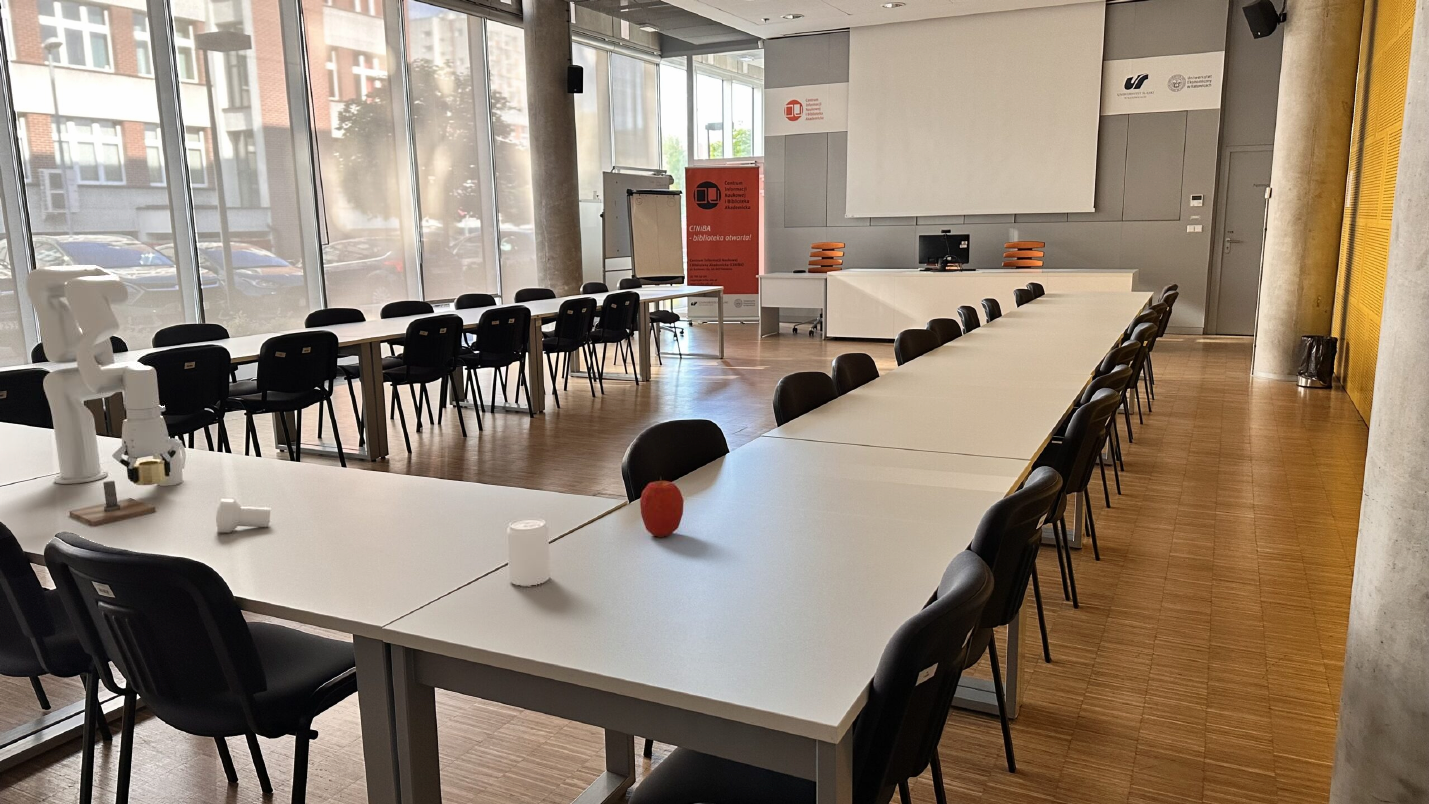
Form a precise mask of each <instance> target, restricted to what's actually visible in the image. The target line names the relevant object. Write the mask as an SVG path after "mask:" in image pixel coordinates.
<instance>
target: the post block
mask: <svg viewBox="0 0 1429 804" xmlns="http://www.w3.org/2000/svg"><path fill="white" fill-rule="evenodd" d="M102 484H103V491H104V498H105V503H101V504H96V505H91V506H87V507H83V508H77V509H73V510H69V512H68V513H69V514H68V515H69V517H72V518H74V519H75V520H78V521H81V522H83V523H85V524H88V525H89V526H91V527H96V526H101V525H104V524H110V523H112V522H117V521H122V520H127V519H131V518H135V517H138V516H139V517H140V516H145V515H147V514H152V513H156V512H157V511H156V507H155V506H153V505H151V504H148V503H145V502H142V501H140V500H137V499H135V498H132V497H128V498H125V499H120V500H118V497H117V489H116V482H115V480H107V481H104V482H103V483H102Z"/></svg>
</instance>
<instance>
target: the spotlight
mask: <svg viewBox="0 0 1429 804" xmlns="http://www.w3.org/2000/svg"><path fill="white" fill-rule="evenodd" d="M271 510H272V509H271V507H270V506H269V507H267V506H266V507H265V506H264V507H263V506H253V505H252V506H250V505H241V504H240V503H239V502H238V501H237V500H236V499H235V498H234V497H233V498H231V497H221V498H220V503H219V504H218V506H217V510H216V516H215V523H216V528H217V530H216V533H222V534H223V533H224V534H230V533H232V532H233V531H234V530H235V529H236V528H238V527H252V528H269V527H270V526H269V525H270V523H271Z"/></svg>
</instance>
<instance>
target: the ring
mask: <svg viewBox="0 0 1429 804" xmlns="http://www.w3.org/2000/svg"><path fill="white" fill-rule="evenodd" d="M134 468H136V469H137V479H138V482H137V483H133V484H134V485H136V486H153V485H157V484H159V483H162V482H164V481H166V471H165V461H163V460H158V459H153V458H152V459H142V460H139V461H138V460H137V461H136V463H135V465H134Z"/></svg>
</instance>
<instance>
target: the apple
mask: <svg viewBox="0 0 1429 804" xmlns="http://www.w3.org/2000/svg"><path fill="white" fill-rule="evenodd" d="M659 479H660V480H657V481H652V482H649V483H647V485H646V486H645V488H644V489H643V490H642V492H641V496H640V499H639V506H640V515H641V518H642V521H643V524H644V527H645V529H646V531H647V532H648V533H650V534H651V535H652V536H653V537H654V536H659V537H658V538H664V537H663V536H665V537H668V536H670V535H672V534H673V533H674V532H675V531H676V530H678V529H679V527H680V524H681V520H682V517H683V515H684V501H685V500H684V498H683V495H682V492H681V490H680V488H679V487H678V486H677V485H676V484H675V482H674V483H673V482H671V481H667V480H662V477H661V476H660V477H659Z"/></svg>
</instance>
